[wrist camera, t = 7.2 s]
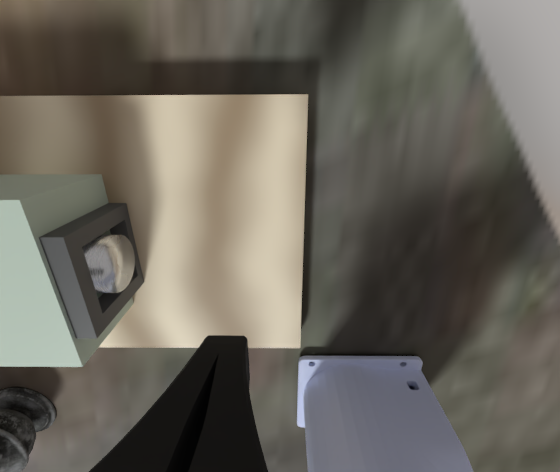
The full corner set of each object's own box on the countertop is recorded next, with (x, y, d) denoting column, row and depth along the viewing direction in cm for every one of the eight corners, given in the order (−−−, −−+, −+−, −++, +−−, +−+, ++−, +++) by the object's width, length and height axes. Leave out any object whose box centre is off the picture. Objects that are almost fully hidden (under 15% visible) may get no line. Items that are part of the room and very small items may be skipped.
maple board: (305, 96, 15) (308, 94, 13) (299, 333, 21) (300, 348, 20) (-103, 98, 15) (-142, 96, 14) (10, 331, 21) (-9, 346, 20)
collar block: (119, 174, 15) (46, 200, 10) (148, 303, 18) (102, 367, 14) (-46, 174, 15) (-193, 200, 10) (13, 302, 18) (-79, 366, 14)
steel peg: (128, 226, 15) (93, 250, 13) (138, 273, 17) (110, 304, 14) (-34, 226, 16) (-102, 250, 13) (-12, 273, 17) (-70, 304, 14)
